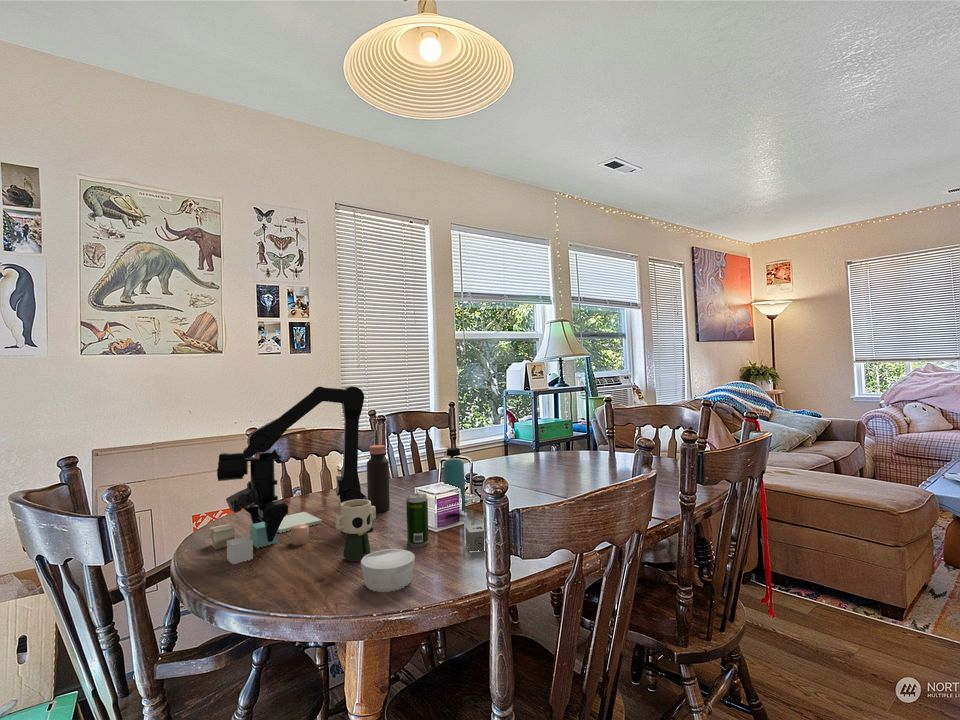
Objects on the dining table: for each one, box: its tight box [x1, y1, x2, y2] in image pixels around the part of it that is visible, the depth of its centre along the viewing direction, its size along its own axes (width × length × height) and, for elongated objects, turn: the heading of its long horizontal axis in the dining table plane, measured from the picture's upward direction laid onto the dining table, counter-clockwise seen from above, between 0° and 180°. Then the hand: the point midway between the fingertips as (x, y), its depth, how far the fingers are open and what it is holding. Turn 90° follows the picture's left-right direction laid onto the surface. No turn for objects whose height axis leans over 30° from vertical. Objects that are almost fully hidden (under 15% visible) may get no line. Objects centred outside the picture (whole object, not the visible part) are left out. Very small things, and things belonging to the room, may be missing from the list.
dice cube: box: [464, 523, 485, 553], centre depth 124 cm, size 5×5×5 cm
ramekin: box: [360, 548, 416, 593], centre depth 105 cm, size 11×11×5 cm
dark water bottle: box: [366, 444, 391, 513], centre depth 160 cm, size 7×7×20 cm
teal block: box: [249, 522, 278, 549], centre depth 131 cm, size 5×5×5 cm
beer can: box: [405, 492, 429, 547], centre depth 128 cm, size 5×5×12 cm
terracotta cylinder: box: [290, 524, 310, 546], centre depth 131 cm, size 4×4×4 cm
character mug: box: [335, 499, 377, 562], centre depth 119 cm, size 11×7×13 cm, turn 138°
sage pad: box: [277, 511, 323, 534], centre depth 147 cm, size 12×12×1 cm
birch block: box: [209, 523, 235, 550], centre depth 131 cm, size 4×4×4 cm
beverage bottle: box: [442, 447, 467, 512], centre depth 152 cm, size 6×7×20 cm
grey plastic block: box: [226, 535, 254, 565], centre depth 121 cm, size 4×4×4 cm
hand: (263, 537), depth 131 cm, fingers open, 9 cm apart
